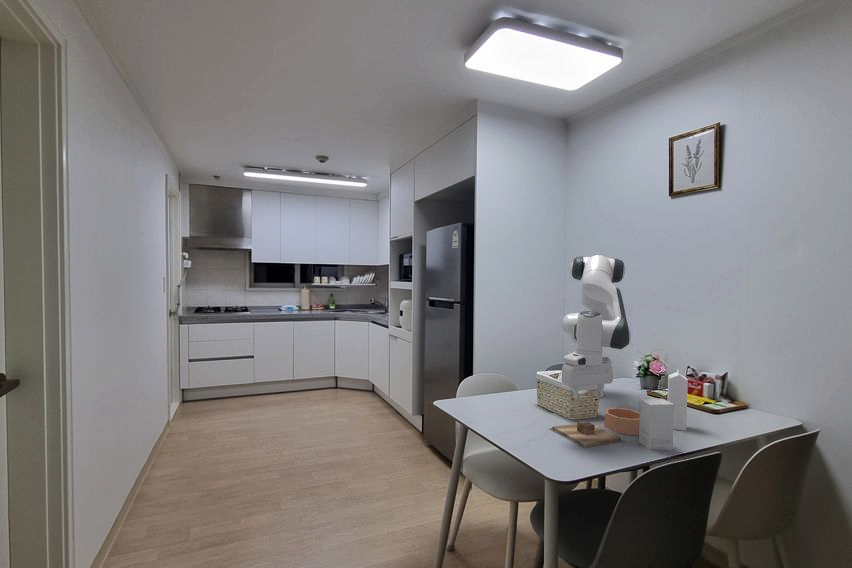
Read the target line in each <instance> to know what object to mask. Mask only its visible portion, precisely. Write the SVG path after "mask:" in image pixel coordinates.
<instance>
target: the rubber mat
mask: <svg viewBox="0 0 852 568" xmlns="http://www.w3.org/2000/svg"><path fill="white" fill-rule="evenodd" d="M548 430H549V431H551V432H553V433H554V434H557V435H559V436H561V437H563V439H565V440H568V441H570V442H571V443H573V444H576V446H578V447H580V448H582V449H588V448H589V449H590V448H595V447H601V446H608V445H613V444H619V443H625V442H626V441H625V440H623V439H621V441H616V442H610V443H604V444H597V445H591V446H585V447H584V446H582V445H580V444H578V443H576V442H575V441H573V440H571V439H569V438H567V437H565V436H564V435H562V434H560V433H558V432H556V431H554V430H552V427H550V428H548Z"/></svg>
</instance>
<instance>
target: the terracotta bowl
mask: <svg viewBox="0 0 852 568" xmlns="http://www.w3.org/2000/svg"><path fill="white" fill-rule="evenodd" d="M604 428H605V429H608V430H609V431H612V432H614V433H616V434H622V435H629V436H637V435H639V428H640V411H636V410H633V409H630V408H621V407H610V408H605V410H604Z"/></svg>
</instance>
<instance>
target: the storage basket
mask: <svg viewBox="0 0 852 568" xmlns="http://www.w3.org/2000/svg"><path fill="white" fill-rule="evenodd" d="M535 379H536V399H537V400H536V402H537V405H538V406H539V407H541V408H544V409H545V410H547V411H550V412H552V413H554V414H557V415H559V416H561V417H562V418H564V419H567V420H581V419H588V418H597V417H598V411H599V406H600V405H599V403H600V397H596V396H595V395H594V394H595V393H594V391H596V390H597V387H598V386H597V385H585V386H578V389H577V392H578V393H579V394H580V398H579V399H575V398H573V392H572V390H571V387H569V386H566V385H564V384H563V383H562V380H561V379H562V369H561V370H547V371H546V370H544V371H537V372H536V374H535Z"/></svg>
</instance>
